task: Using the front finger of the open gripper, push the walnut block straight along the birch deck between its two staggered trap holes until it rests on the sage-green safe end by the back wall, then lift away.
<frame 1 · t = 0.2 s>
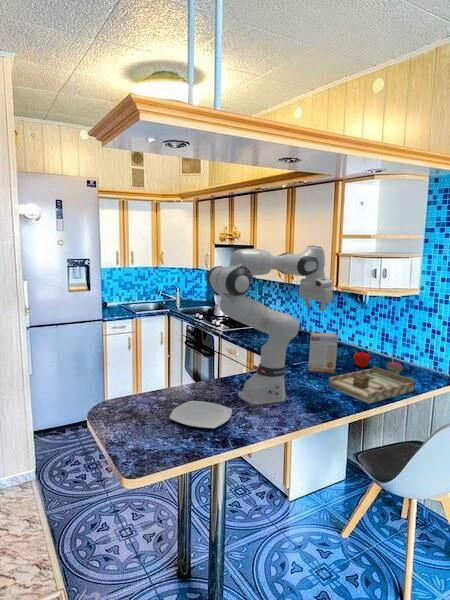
hand: (314, 309, 200), 39 cm above the worktop, tool pointing down, fingers open, 8 cm apart
cracker box: (321, 371, 230), on the worktop
walnut block: (360, 386, 202), point 2 cm above the worktop, touching trap deck
plate: (201, 418, 167), on the worktop
cupcake: (393, 375, 230), on the worktop
apple: (360, 366, 242), on the worktop
trap deck: (370, 388, 207), on the worktop
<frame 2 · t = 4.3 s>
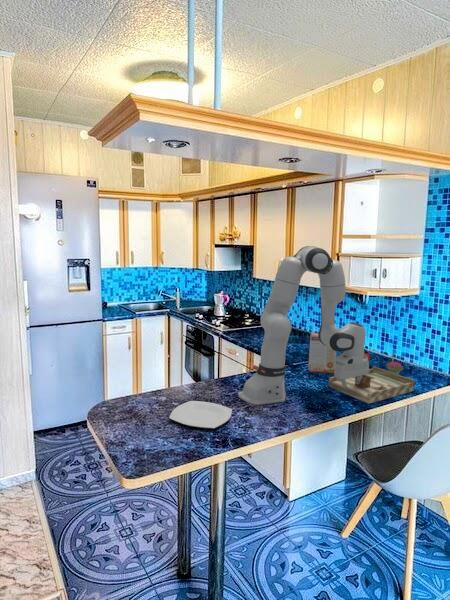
hand: (350, 385, 198), 4 cm above the worktop, tool pointing down, fingers open, 7 cm apart
walnut block: (362, 386, 203), point 3 cm above the worktop, touching gripper
everything else where it was.
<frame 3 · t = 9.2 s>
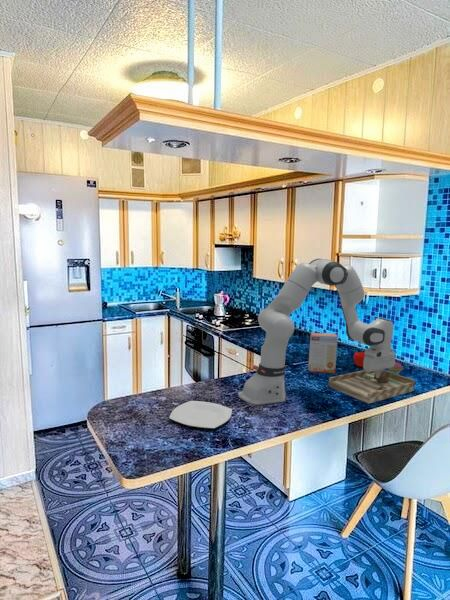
hand: (378, 377, 208), 5 cm above the worktop, tool pointing down, fingers closed, pressing on walnut block
walnut block: (380, 380, 210), point 3 cm above the worktop, tilted 12°, touching gripper, trap deck
everything else where it was.
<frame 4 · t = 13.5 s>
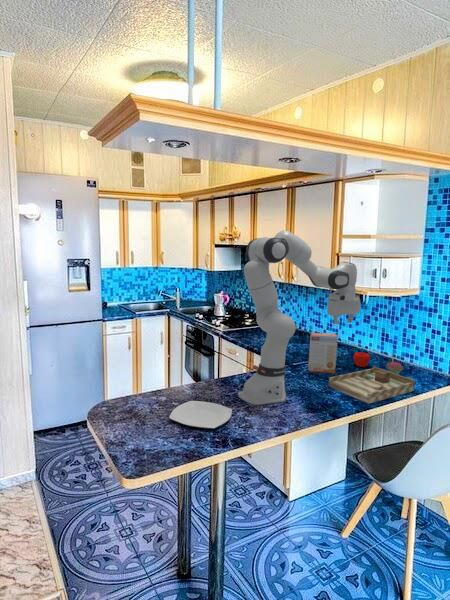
hand: (343, 323, 207), 31 cm above the worktop, tool pointing down, fingers open, 8 cm apart
walnut block: (381, 381, 211), point 2 cm above the worktop, touching trap deck
everything else where it was.
at the end: walnut block inside the target area (3.8 cm from its centre), point 2.5 cm above the worktop; walnut block tilted 0° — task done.
